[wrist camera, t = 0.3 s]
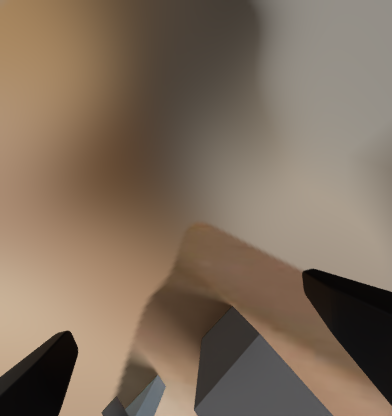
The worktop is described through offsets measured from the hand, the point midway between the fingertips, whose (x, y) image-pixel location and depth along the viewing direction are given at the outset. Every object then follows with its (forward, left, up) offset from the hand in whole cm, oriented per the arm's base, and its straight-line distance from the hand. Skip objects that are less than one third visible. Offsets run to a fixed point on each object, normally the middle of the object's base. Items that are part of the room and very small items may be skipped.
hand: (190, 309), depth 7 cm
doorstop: (-6, +1, -15) cm, 16 cm away
